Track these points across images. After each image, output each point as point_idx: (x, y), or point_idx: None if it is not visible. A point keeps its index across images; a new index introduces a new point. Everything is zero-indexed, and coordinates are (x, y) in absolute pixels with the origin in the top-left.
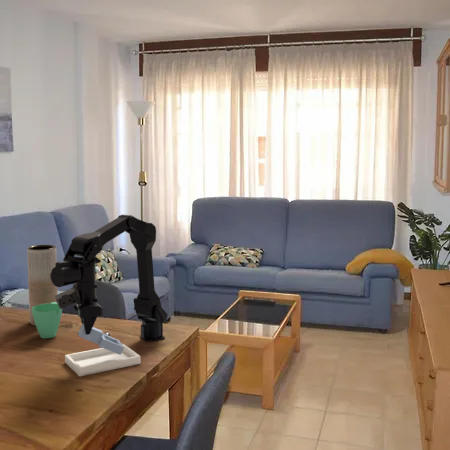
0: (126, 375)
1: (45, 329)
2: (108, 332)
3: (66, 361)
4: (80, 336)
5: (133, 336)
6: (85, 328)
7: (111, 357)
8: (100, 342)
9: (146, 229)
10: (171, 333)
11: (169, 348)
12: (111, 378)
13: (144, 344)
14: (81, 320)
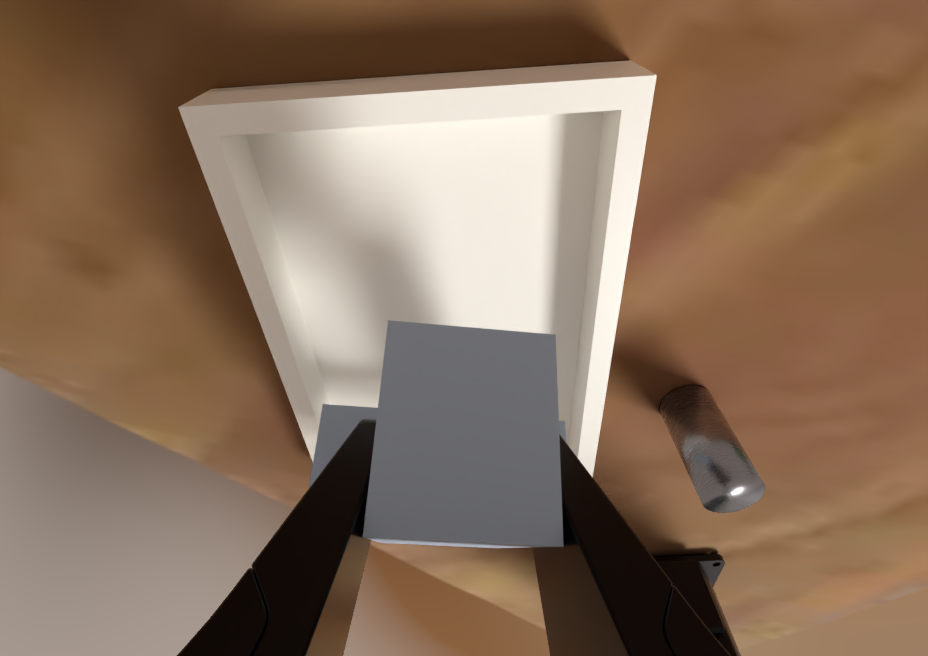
0: (174, 379)
1: None
2: (742, 508)
3: (592, 67)
4: (389, 338)
5: (753, 535)
6: (299, 503)
7: None
8: (340, 443)
9: None
10: None
11: (486, 587)
12: (133, 297)
13: None
14: (601, 579)
